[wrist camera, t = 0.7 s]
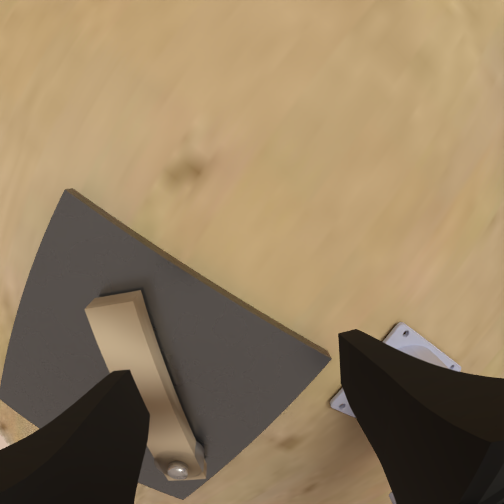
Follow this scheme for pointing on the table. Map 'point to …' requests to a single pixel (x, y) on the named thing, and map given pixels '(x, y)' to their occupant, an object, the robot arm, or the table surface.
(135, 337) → the link
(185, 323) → the base plate
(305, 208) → the table surface
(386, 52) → the table surface
